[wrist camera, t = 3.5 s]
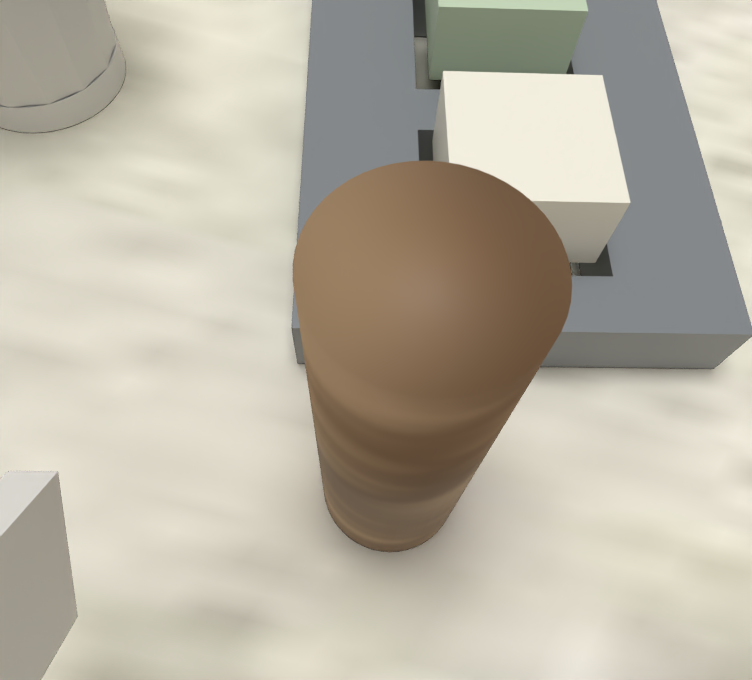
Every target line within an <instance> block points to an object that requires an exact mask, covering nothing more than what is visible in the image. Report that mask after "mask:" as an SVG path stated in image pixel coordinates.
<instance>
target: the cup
mask: <svg viewBox="0 0 752 680" xmlns="http://www.w3.org/2000/svg"><path fill="white" fill-rule="evenodd" d="M125 74H126V64H125V59H124V56H123V53H122V51H121V48H120V45H119V42H118V40H117V37H116V34H115V32H114V29H113V27H112V25H111V22H110V18H109V15H108V11H107V8H106V4H105V1H104V0H0V127H1V128H3V129H7V130H11V131H16V132H26V133H40V132H49V131H55V130H60V129H64V128H67V127H70V126H73V125H76V124H78V123H81V122H83V121H85V120H87V119H89V118H91V117H92V116H94V115H95V114H97V113H98V112H100V111H101V110H102V109H104V108H105V107H106V106H107V105H108V104H109V103H110V102H111V101H112V100H113V99H114V98H115V96H116V95H117V94H118V92H119V90H120V89H121V87H122V84H123V82H124V79H125Z"/></svg>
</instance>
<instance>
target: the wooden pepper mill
mask: <svg viewBox="0 0 752 680" xmlns="http://www.w3.org/2000/svg"><path fill="white" fill-rule="evenodd" d="M293 285H294V292H295V298H296V305H297V312H298V319H299V326H300V332H301V339H302V346H303V353H304V360H305V366H306V373H307V380H308V387H309V394H310V400H311V407H312V414H313V421H314V428H315V434H316V441H317V448H318V455H319V461H320V468H321V475H322V482H323V489H324V495H325V501H326V504H327V507H328V510H329V512H330V514H331V517H332V518H333V520H334V521H335V523H336V524H337V526H338V527H339V528H340V529H341V530H342V532H344V533H345V534H346V535H347V536H348V537H349V538H351V539H352V540H353V541H355V542H356V543H358V544H360V545H362V546H364V547H367V548H370V549H373V550H378V551H385V552H396V551H403V550H408V549H411V548H414V547H416V546H418V545H420V544H422V543H424V542H426V541H427V540H428V539H430V538H431V537H432V536H433V535H434V534H436V533H437V532H438V530H439V529H440V528H441V527H442V526H443V524H444V523H445V521H446V519H447V518H448V516H449V514H450V513H451V511H452V509H453V508H454V506H455V505H456V503H457V501H458V500H459V498H460V496H461V495H462V493H463V492H464V490H465V488H466V487H467V485H468V483H469V482H470V480H471V478H472V477H473V475H474V474H475V472H476V470H477V469H478V467H479V465H480V464H481V462H482V460H483V459H484V457H485V456H486V454H487V452H488V451H489V449H490V447H491V446H492V444H493V443H494V441H495V439H496V438H497V436H498V434H499V433H500V431H501V429H502V428H503V426H504V425H505V423H506V421H507V420H508V418H509V416H510V415H511V413H512V412H513V410H514V408H515V407H516V405H517V403H518V402H519V400H520V398H521V397H522V395H523V394H524V392H525V390H526V389H527V387H528V385H529V384H530V382H531V380H532V379H533V377H534V376H535V374H536V372H537V371H538V369H539V367H540V366H541V364H542V363H543V361H544V359H545V358H546V356H547V354H548V353H549V351H550V349H551V348H552V346H553V345H554V343H555V341H556V340H557V338H558V336H559V335H560V333H561V331H562V329H563V326H564V324H565V322H566V319H567V317H568V313H569V308H570V304H571V296H572V277H571V268H570V264H569V260H568V256H567V253H566V250H565V248H564V245H563V243H562V240H561V239H560V237H559V235H558V233H557V231H556V230H555V228H554V226H553V225H552V224H551V222H550V221H549V220H548V218H547V217H546V216H545V214H544V213H543V212H542V211H541V210H540V209H539V208H538V207H537V206H536V205H535V204H534V203H533V202H532V201H531V200H530V199H529V198H527V197H526V196H525V195H524V194H523V193H521V192H520V191H519V190H517V189H516V188H514V187H513V186H511V185H509V184H508V183H506V182H504V181H502V180H500V179H499V178H497V177H495V176H493V175H490V174H488V173H485V172H483V171H480V170H478V169H474V168H471V167H467V166H464V165H460V164H454V163H448V162H440V161H408V162H400V163H394V164H389V165H385V166H381V167H378V168H375V169H372V170H369V171H367V172H364V173H362V174H360V175H358V176H356V177H354V178H352V179H350V180H348V181H347V182H345V183H344V184H342V185H340V186H339V187H337V188H336V189H335V190H334V191H333V192H331V193H330V194H329V195H328V196H327V197H325V198H324V199H323V201H322V202H321V203H320V204H319V205H318V206H317V207H316V208H315V210H314V211H313V212H312V214H311V215H310V217H309V218H308V220H307V221H306V223H305V225H304V227H303V229H302V231H301V234H300V236H299V239H298V242H297V245H296V249H295V254H294V260H293Z"/></svg>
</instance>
